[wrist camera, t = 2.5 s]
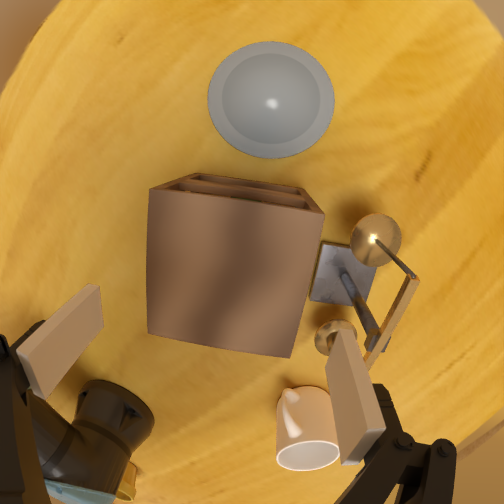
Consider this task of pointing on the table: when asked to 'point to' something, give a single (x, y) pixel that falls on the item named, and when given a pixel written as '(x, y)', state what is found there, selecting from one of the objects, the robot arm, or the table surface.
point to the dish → (271, 100)
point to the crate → (230, 262)
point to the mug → (305, 429)
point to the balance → (360, 282)
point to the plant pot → (127, 484)
